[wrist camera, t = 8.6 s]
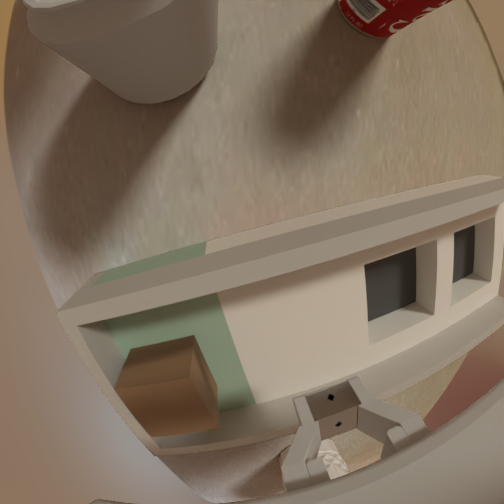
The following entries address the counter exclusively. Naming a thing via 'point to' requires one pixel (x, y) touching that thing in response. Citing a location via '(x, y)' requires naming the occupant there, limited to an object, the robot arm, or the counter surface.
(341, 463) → the white cup
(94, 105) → the counter surface
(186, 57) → the can
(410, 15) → the soda can
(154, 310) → the tray
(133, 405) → the walnut block
